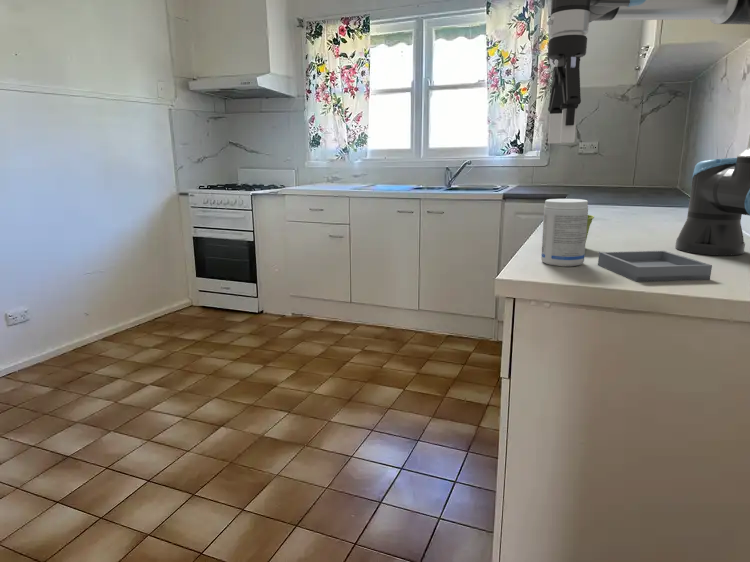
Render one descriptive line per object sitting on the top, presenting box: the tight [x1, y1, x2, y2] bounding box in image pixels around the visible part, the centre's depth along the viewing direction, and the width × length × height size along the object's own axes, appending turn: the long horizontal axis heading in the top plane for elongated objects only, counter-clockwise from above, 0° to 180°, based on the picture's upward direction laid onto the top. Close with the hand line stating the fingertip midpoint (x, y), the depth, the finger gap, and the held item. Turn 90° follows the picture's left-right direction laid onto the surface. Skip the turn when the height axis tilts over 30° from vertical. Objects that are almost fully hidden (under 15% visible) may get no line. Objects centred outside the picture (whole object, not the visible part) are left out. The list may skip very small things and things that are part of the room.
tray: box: [597, 250, 713, 283], centre depth 111 cm, size 16×16×3 cm
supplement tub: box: [540, 198, 589, 267], centre depth 119 cm, size 10×10×15 cm
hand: (560, 143), depth 112 cm, fingers open, 13 cm apart
